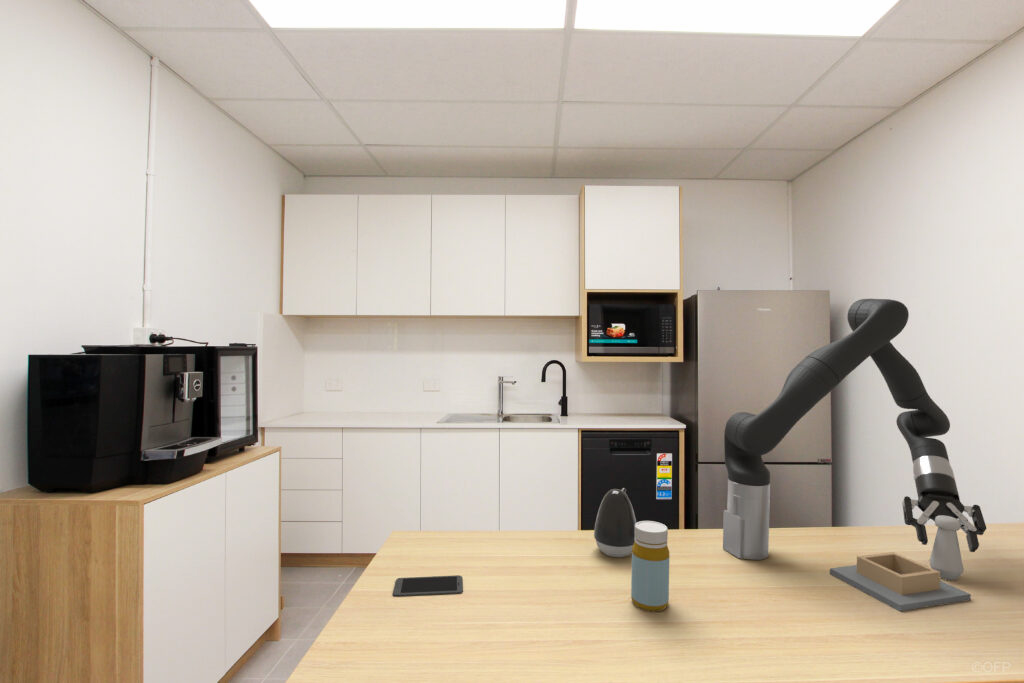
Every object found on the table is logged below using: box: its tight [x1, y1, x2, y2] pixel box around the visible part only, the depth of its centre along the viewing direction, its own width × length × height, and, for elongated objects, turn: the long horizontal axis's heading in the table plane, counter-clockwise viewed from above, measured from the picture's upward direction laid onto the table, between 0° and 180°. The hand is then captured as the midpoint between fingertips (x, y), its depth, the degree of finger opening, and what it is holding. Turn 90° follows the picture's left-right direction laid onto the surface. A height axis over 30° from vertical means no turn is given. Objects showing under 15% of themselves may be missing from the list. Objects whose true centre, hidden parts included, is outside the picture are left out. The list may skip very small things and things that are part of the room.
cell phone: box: [392, 574, 464, 598], centre depth 109 cm, size 7×14×1 cm, turn 97°
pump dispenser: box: [593, 487, 637, 558], centre depth 126 cm, size 10×10×15 cm
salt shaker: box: [929, 515, 965, 581], centre depth 116 cm, size 6×6×13 cm
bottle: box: [630, 520, 670, 612], centre depth 103 cm, size 7×7×15 cm
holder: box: [829, 551, 972, 612], centre depth 111 cm, size 18×16×5 cm
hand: (948, 546), depth 114 cm, fingers open, 8 cm apart
